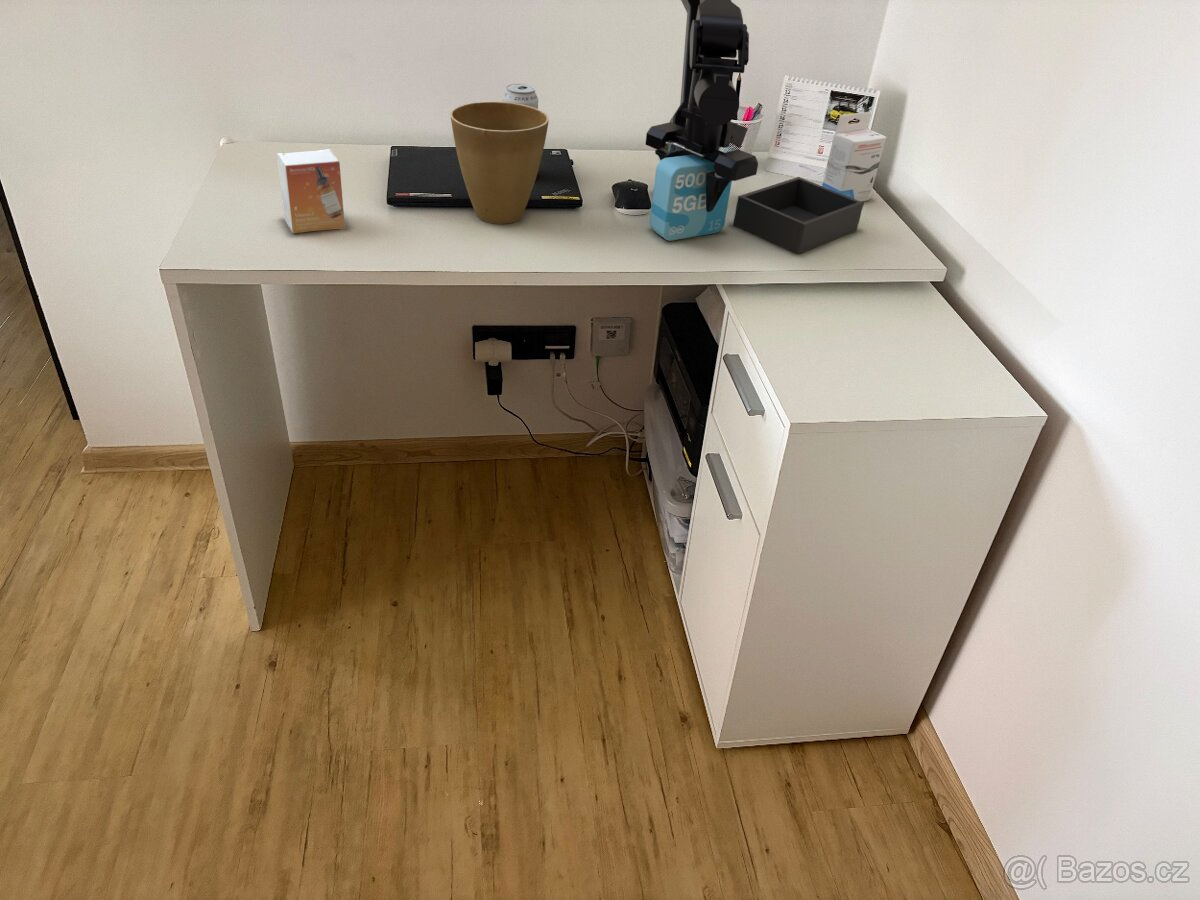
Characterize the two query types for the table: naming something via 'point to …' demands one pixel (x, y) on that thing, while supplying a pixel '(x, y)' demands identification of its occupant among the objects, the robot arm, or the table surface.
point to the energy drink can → (521, 95)
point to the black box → (797, 214)
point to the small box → (311, 190)
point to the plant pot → (499, 156)
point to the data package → (685, 199)
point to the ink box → (854, 157)
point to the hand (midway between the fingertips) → (692, 203)
